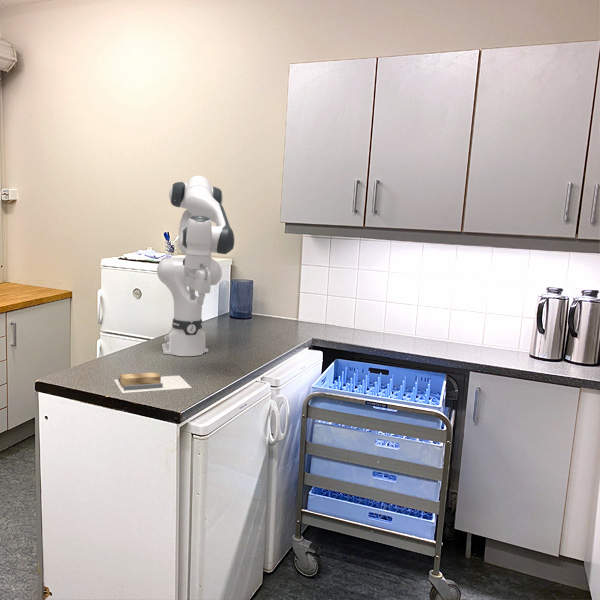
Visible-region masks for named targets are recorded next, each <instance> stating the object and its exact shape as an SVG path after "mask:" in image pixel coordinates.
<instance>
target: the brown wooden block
mask: <svg viewBox="0 0 600 600" xmlns="http://www.w3.org/2000/svg"><path fill="white" fill-rule="evenodd" d="M161 377H162V376H161V375H160V373H158V371H157V372H144V373H143V372H141V373H125V374H119V378H120V385H121V386H122V388H124V386H127V385H142V384H156V383H161Z"/></svg>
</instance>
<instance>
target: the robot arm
mask: <svg viewBox="0 0 600 600" xmlns="http://www.w3.org/2000/svg"><path fill="white" fill-rule="evenodd" d="M168 192H169V193H168V196H169V201H170V203H171V205H172V206H174V207H176V208H182V209H185V210H184V211H183V213H182V216H181V219H180V221H179V227H178V238H177V239H178V240H177V241H178V242H177V246H178V249H179V251H181V253H182V255H183V254H184V255H185V257H167V258H162V259H161V260H160V261H159V263H158V265H157V267H156V274H157V278H158V279H159V280H160V282H161V283H163V284H164V286H166V287H167V288H168V290H169V291H170V293H171V296H172V298H173V312H174V313H173V314H174V315H173V319H172V323H171V324H172V325H171V326H172V327H171V329H170V330H169V332H168V333H167V334H166V335H164V337H163V339H164V340H163V341H165V343H162V344H161V347H162V353H163V355H172V356H177V357H178V356H179V357H194V356H195V357H197V356H201V355H204V354H205V352H206V353H208V352H209V348H207V347H206V332H205V331H204V330H202V329H203V323H204V322H203V319H202V315H203V313H202V311H203V305H204V300H205V298H206V294H210V292H211V287H212V286H216V285H218V283H219V282H220V281H221V279H222V276H223V271H222V266H221V265H220V264H219V262H217V261H216V260H214V259H213V258H212V253H215V254H220V255H221V254H222V255H227V254H229V253H230V252H231V251H232V250H234V247H235V242H236V241H235V234H234V231H233V229H232V228H231V225H230V223H229V220H228V218H227V214H226V211H225V209H224V205H223V203H224V197H223V192H222V190H221V189H220V188H219V187H217V186H216V187H215V186H212V185H211V182H210V181H209V180H208V178H206V177H205V176H202V175H195V176H192V177H191V178H190V179H189V180H188V182H184V181H179V182H178V181H177V182H174V183H173V184H172V186H171V187H170V189H169V191H168ZM212 222H213V223H215V225H212ZM196 292H197V295H196ZM203 353H204V354H203Z"/></svg>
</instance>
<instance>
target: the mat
mask: <svg viewBox="0 0 600 600" xmlns="http://www.w3.org/2000/svg"><path fill="white" fill-rule="evenodd" d="M113 381H114V383H115V384H116V385H117V387H118V388H119V390H120V392H121V393H122V394H126V393H127V394H129V393H140V392H141V393H143V392H155V391H168V390H179V389H180V390H181V389H192V388H193V387H192V386H191V385H190V384H188V382H186V380H185V379H184V378H182V377H181V376H180V375H166V376H161V383H156V384H142V385H127V386H124V388H122V386H121V385H120V377H118V379H117V378H116V379H114V380H113Z"/></svg>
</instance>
